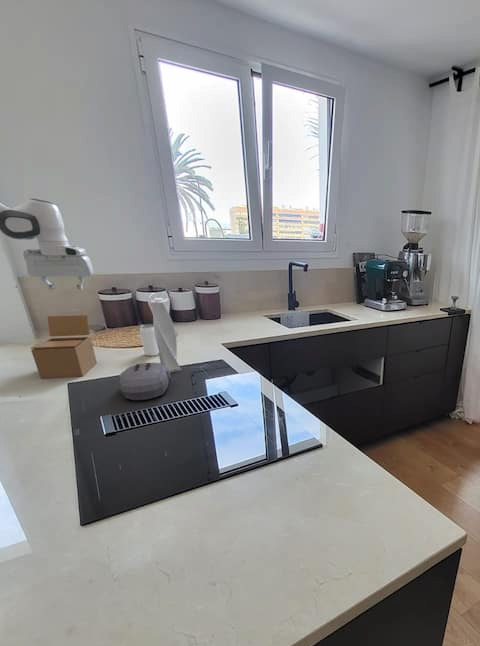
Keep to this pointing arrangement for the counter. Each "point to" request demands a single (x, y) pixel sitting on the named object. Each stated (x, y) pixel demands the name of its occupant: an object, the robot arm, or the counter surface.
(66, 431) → the counter surface
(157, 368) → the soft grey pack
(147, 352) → the can
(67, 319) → the flap
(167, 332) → the skyscraper
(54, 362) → the carton
